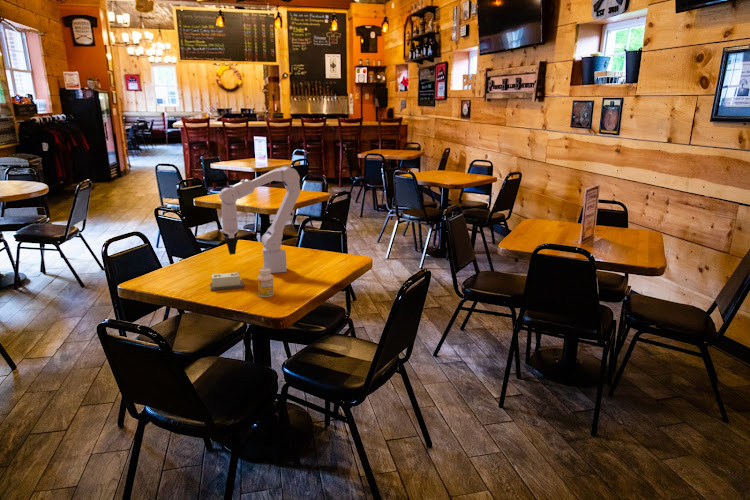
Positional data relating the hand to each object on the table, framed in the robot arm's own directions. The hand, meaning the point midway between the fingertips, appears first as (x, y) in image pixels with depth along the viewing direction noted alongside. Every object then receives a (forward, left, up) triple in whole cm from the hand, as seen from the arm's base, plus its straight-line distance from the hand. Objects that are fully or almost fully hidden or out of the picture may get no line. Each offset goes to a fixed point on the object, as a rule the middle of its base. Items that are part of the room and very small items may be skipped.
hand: (231, 251), depth 202 cm
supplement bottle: (-10, +28, -10) cm, 31 cm away
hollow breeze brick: (+3, +14, -9) cm, 17 cm away
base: (+3, +14, -10) cm, 17 cm away
